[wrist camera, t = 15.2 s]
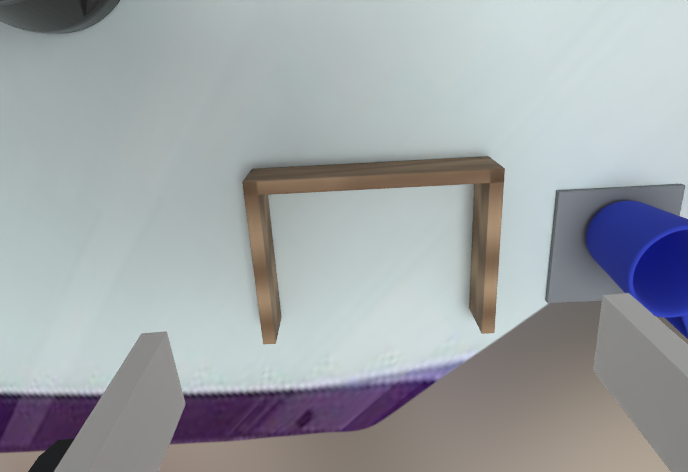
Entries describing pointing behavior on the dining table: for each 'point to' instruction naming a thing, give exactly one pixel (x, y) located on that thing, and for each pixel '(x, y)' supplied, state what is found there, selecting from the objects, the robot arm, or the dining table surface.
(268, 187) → the wooden u-shaped frame
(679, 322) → the mug
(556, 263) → the mat
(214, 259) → the dining table surface
